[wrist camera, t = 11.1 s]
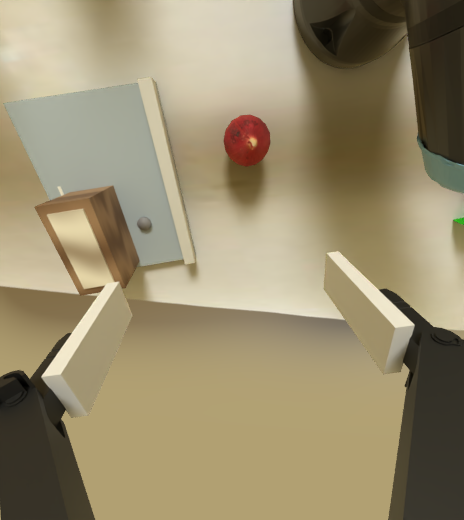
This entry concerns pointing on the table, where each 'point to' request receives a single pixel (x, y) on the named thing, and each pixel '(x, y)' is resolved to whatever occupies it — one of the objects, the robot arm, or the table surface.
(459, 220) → the potted plant
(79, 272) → the frame
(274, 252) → the table surface
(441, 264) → the table surface
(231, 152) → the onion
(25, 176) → the table surface
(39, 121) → the wall panel
